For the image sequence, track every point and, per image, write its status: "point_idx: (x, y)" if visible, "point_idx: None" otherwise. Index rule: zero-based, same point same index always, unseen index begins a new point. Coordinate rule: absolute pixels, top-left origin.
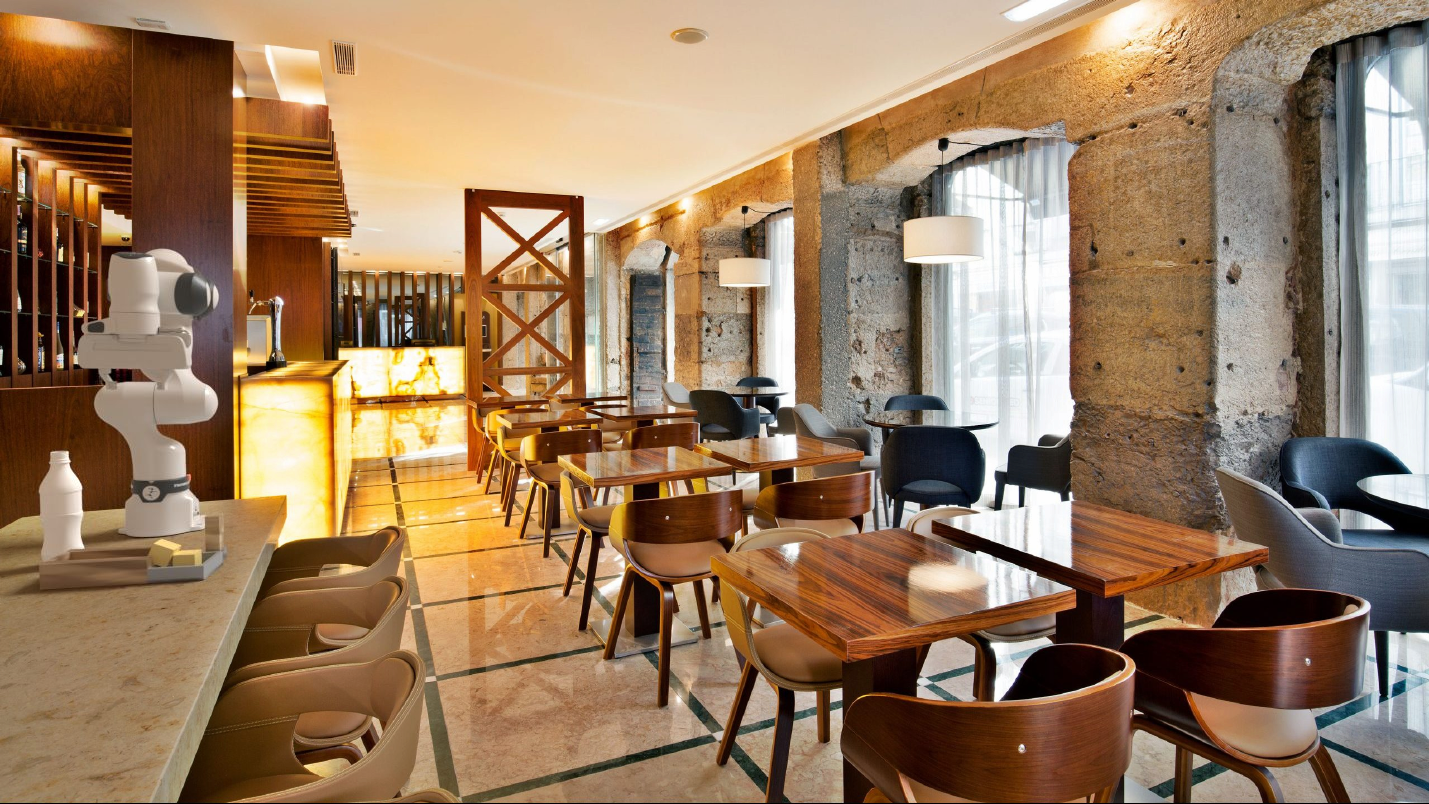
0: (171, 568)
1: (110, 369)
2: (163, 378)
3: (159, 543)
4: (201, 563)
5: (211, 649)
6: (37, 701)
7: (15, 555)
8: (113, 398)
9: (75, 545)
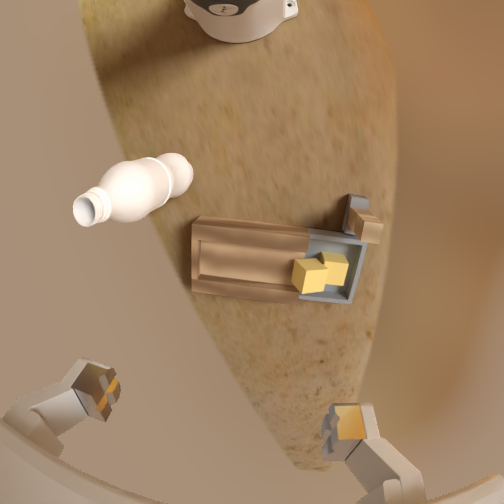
0: (320, 300)
1: (30, 434)
2: (358, 479)
3: (307, 287)
4: (344, 256)
5: None
6: (285, 441)
7: (110, 112)
8: None
9: (184, 188)
